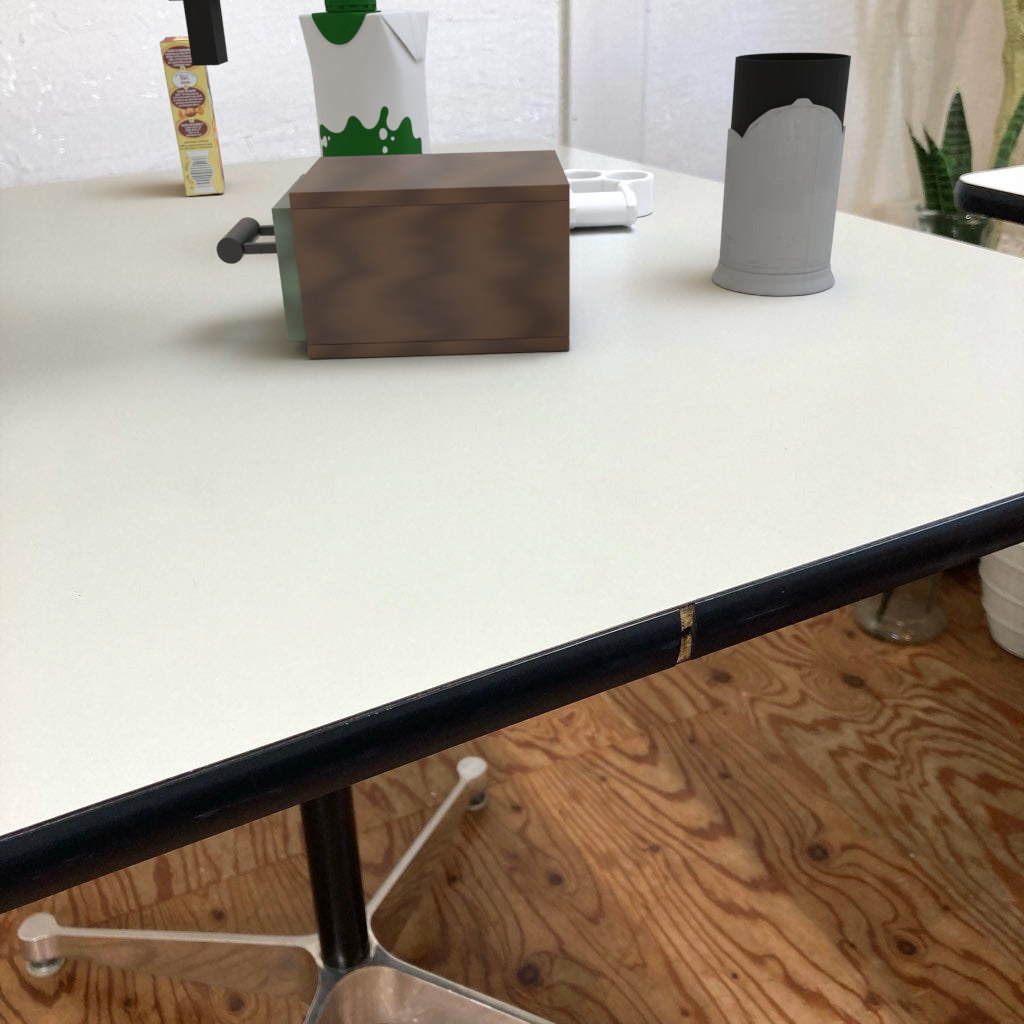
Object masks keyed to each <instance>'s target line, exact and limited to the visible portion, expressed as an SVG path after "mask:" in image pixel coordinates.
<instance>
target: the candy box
mask: <svg viewBox="0 0 1024 1024" xmlns="http://www.w3.org/2000/svg"><path fill="white" fill-rule="evenodd" d="M159 47H160V52H161V59H162V65H163V71H164V76H165V83H166V87H167V93H168V98H169V105H170V109H171V110H170V111H171V114H172V120H173V126H174V132H175V137H176V138H175V139H176V142H177V149H178V153H179V154H178V155H179V159H180V165H181V171H182V176H183V177H182V178H183V182H184V188H185V194H186V196H187V197H191V196H192V197H193V196H204V195H218V194H223V193H225V192H224V191H225V175H224V174H225V173H224V168H223V167H224V166H223V159H222V154H221V149H220V147H221V146H220V141H219V133H218V127H217V122H216V121H217V120H216V114H215V109H214V101H213V95H212V90H211V88H212V87H211V83H210V77H209V72H208V65H205V66H192V59H191V53H190V46H189V39H188V35H182V36H181V35H180V36H165V37H164V39H162V40H161V41H159Z"/></svg>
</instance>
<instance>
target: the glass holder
mask: <svg viewBox="0 0 1024 1024" xmlns="http://www.w3.org/2000/svg"><path fill="white" fill-rule="evenodd" d="M851 60H852V55H849V54H844V53H836V52H835V53H834V52H833V53H832V52H766V53H765V52H763V53H751V54H743V55H738V56H735V60H734V61H735V62H734V73H733V91H732V104H731V118H730V119H731V120H730V127H729V128H728V130H727V141H726V154H725V156H726V157H725V168H724V169H725V171H724V183H723V185H724V186H723V199H722V214H721V228H720V243H719V245H720V246H719V258H718V262H717V266H716V268H715V269H714V270H713V273H712V274H711V275H712V276H711V281H712V282H713V283H714V284H715V285H717V286H719V287H721V288H723V289H725V290H726V289H727V290H730V291H733V292H738V293H741V294H748V295H759V296H774V297H788V296H790V297H791V296H801V295H809V294H817V293H819V292H820V293H821V292H823V291H827V290H828V289H830V288H832V287H833V286H834V285H835V277H834V274H833V271H832V266H831V265H832V264H831V259H832V250H833V241H834V233H835V232H834V231H835V224H836V215H837V207H838V197H839V191H840V190H839V189H840V180H841V171H842V162H843V155H844V154H843V153H844V146H845V137H846V125H844V123H845V114H846V104H847V96H848V87H849V78H850V72H851V71H850V69H851V62H852V61H851Z"/></svg>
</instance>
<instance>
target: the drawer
mask: <svg viewBox="0 0 1024 1024" xmlns="http://www.w3.org/2000/svg"><path fill="white" fill-rule="evenodd" d="M305 174H306V173H301V175H300V176H299V177H298V179H297V180H295V181H294V183H293V184H292V185H291V186H290V187H289V188H288V189H287V191H286V192H284V194H283V195H282V196H281V197H280V198H279V200H278V201H277V202H276V203H275V204H274V205H273V206H272V207H271V219H272V224H260V223H259V222H258V221H257V219H255V218H254V217H249V216H245V217H242V218H241V219H239V220H238V222H237V223H235V224H234V225H233V227H232V228H230V229H229V231H227V233H226V234H225V235H224V236H223V237H222V238H221V239H220V240H219V241H218V243H217V244H216V254H217V257H218V258H219V260H221V261H222V262H223V263H226V264H229V265H233V264H237V263H239V262H240V261H241V260H242V259H243V258H244V256H246V255H272V254H276V256H277V264H278V271H279V279H280V285H281V286H280V287H281V295H282V303H283V309H284V311H283V312H284V318H285V325H286V326H285V327H286V334H287V340H288V342H306V333H305V325H304V317H303V308H302V300H301V292H300V284H299V275H298V267H297V259H296V250H295V242H294V234H293V225H292V217H291V208H290V200H289V192H290V191H291V190H292V189H293V187H294V186H295V185H296V184H297V183H298V182H299V181H300V179H301V178H302V177H303V176H304V175H305ZM260 237H274V241H262V242H261V241H260V242H259V241H258V240H259V239H260ZM257 241H258V242H257Z"/></svg>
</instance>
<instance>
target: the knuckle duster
mask: <svg viewBox="0 0 1024 1024" xmlns="http://www.w3.org/2000/svg"><path fill="white" fill-rule="evenodd" d="M563 170H564V172H565V175H566V177H567V180H568V182H569V184H570V200H569V201H570V229H572V230H573V229H575V228H584V227H585V228H586V227H588V228H589V227H606V226H607V227H608V226H622V227H632V226H633V225H635V224H636V223H637V221H638V218H641V217H646V216H649V215H651V214H652V213H653V211H654V205H655V201H654V200H655V199H654V198H655V175H654V173H652V172H650V171H646V170H640V169H629V168H627V169H611V170H610V169H609V170H608V169H607V170H606V169H605V170H604V169H590V168H569V169H563Z"/></svg>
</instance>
